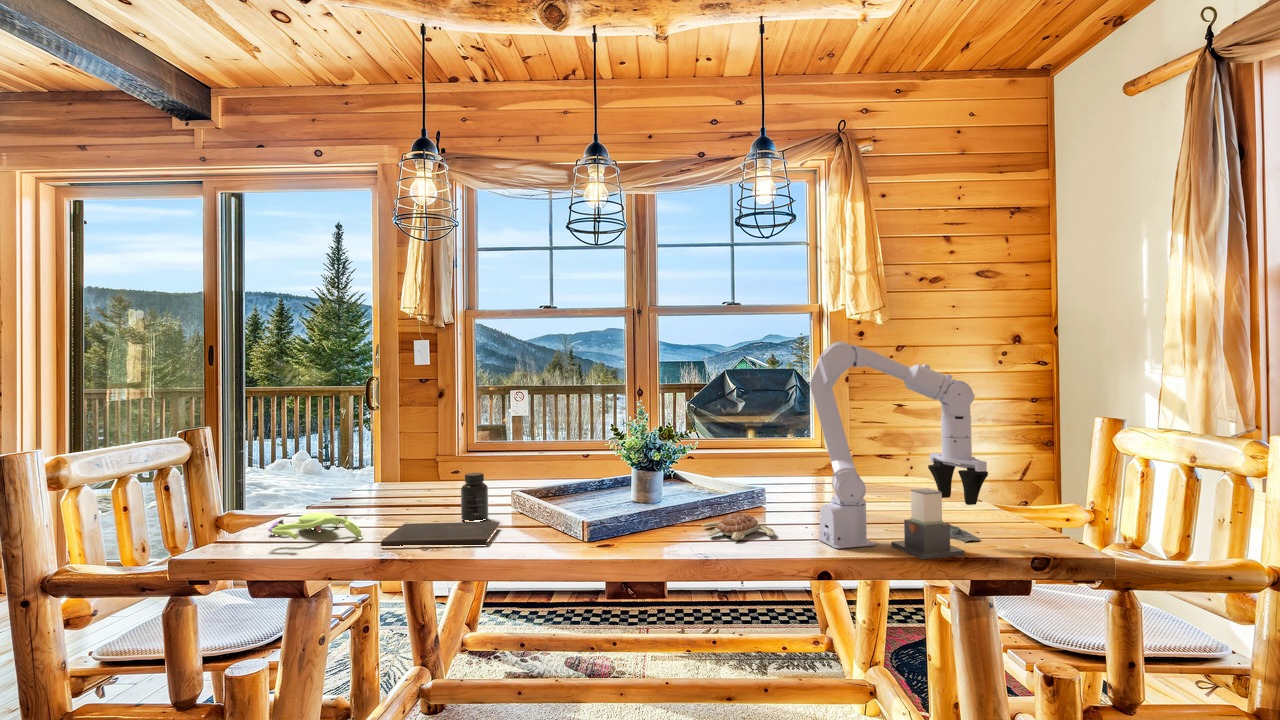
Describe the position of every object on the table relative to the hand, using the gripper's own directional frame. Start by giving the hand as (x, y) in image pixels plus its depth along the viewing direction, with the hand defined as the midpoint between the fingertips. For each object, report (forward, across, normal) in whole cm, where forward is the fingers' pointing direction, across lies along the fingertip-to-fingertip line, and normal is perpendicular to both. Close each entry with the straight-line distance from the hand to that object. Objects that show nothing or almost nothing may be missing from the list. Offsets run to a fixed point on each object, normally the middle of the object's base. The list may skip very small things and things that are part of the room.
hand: (957, 500), depth 137 cm
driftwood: (+11, +13, -8) cm, 19 cm away
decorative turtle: (+10, +25, +40) cm, 48 cm away
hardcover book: (+10, +40, +107) cm, 115 cm away
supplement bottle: (+10, +57, +100) cm, 115 cm away
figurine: (+10, +51, +137) cm, 146 cm away
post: (+6, 0, +8) cm, 10 cm away
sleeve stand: (+10, 0, +8) cm, 13 cm away
